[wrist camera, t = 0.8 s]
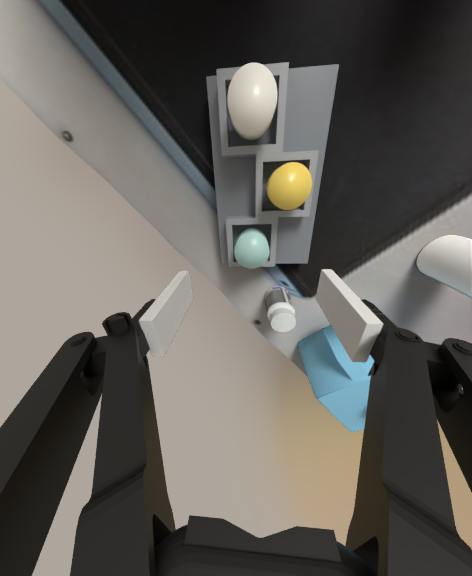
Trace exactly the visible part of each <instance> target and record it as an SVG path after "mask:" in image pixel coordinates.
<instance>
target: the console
mask: <svg viewBox="0 0 472 576" xmlns="http://www.w3.org/2000/svg"><path fill="white" fill-rule="evenodd" d="M264 66H266V67H267V68H268V69H269V70H270V72H271V73H272V75H273V76H274V79H275V82H276V85H277V104H276V108H275V111H274V114H273V118H272V121H271V124H270V126H269V128H268V130H267V131H266V133H265V134H264V135H263V136H261V137H260V138H258V139H256V140H246V139H244V138H242V137H241V136H240V135H239V134H238V133H237V132H236V130H235V128H234V126H233V123H232V119H231V116H230V113H229V109H228V102H227V96H228V89H229V85H230V82H231V80H232V78H233V76H234V75H235V73H236V72H237V71H238V70H239V69H240V68H241V67H234V68H223V69H216V70H217V75H216V76H206V80H207V92H208V104H209V116H210V129H211V141H212V153H213V165H214V177H215V190H216V202H217V214H218V226H219V239H220V251H221V263H222V264H229V267H243V266H241V265H240V264H239V263H238V262H237V260H236V258H235V255H234V249H235V245H236V241H237V238H238V236H239V234H240V233H241V232H242V231H244V230H245V229H248V228H256V229H259V230H260V231H262V232H263V233H264V234H265V236H266V239H267V242H268V246H269V250H270V253H269V257H268V259H267V261H266V262H265V263H264V264H263V265H262V266H260V267H275V264H290V263H308V257H309V251H310V244H311V238H312V232H313V225H314V219H315V213H316V206H317V200H318V194H319V188H320V181H321V175H322V169H323V162H324V156H325V150H326V143H327V137H328V131H329V124H330V118H331V112H332V106H333V99H334V93H335V87H336V80H337V74H338V68H339V64H333V65H323V66H312V67H301V68H291V69H288V67H289V62H285V63H275V64H265V65H264ZM290 162H297V163H300V164H302V165H304V166H305V167H306V168H307V169H308V170H309V172H310V174H311V178H312V188H311V192H310V194H309V196H308V198H307V199H306V201H305V202H304V203H303V204H302V205H301V206H299V207H297V208H295V209H292V210H283V209H280V208H278V207H277V206H276V205H274V204H273V203H272V202H271V201H270V200H269V198H268V196H267V192H266V185H267V181H268V179H269V177H270V175H271V174H272V173H273V172H274V171H275V170H276V169H278V168H279V167H281V166H282V165H284V164H286V163H290Z"/></svg>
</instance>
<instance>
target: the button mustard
mask: <svg viewBox="0 0 472 576" xmlns="http://www.w3.org/2000/svg"><path fill="white" fill-rule="evenodd" d="M311 188H312V178H311V174H310V172H309V170H308V169H307V168H306V167H305V166H304V165H302V164H300V163H297V162H290V163H286V164H284V165H282V166H281V167H279V168H278V169H276V170H275V171H274V172H273V173H272V174H271V175H270V177H269V179H268V181H267V185H266V192H267V196H268V198H269V200H270V201H271V202H272V203H273V204H274V205H276V206H277V207H278V208H280V209H283V210H292V209H295V208H297V207H299V206H301V205H302V204H303V203H304V202H305V201H306V199H307V198H308V196H309V194H310V192H311Z"/></svg>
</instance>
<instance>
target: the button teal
mask: <svg viewBox="0 0 472 576" xmlns="http://www.w3.org/2000/svg"><path fill="white" fill-rule="evenodd" d="M269 253H270V250H269V246H268V242H267V239H266V236H265V234H264V233H263V232H262V231H260V230H259V229H256V228H248V229H245V230H244V231H242V232H241V233H240V234H239V236H238V238H237V241H236V245H235V249H234V255H235V258H236V260H237V262H238V263H239V264H240V265H241V266H243V267H245V268H248V269H255V268H258V267H260V266H262V265H263V264H264V263H265V262H266V261H267V259H268V257H269Z"/></svg>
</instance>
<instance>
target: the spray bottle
mask: <svg viewBox="0 0 472 576" xmlns="http://www.w3.org/2000/svg"><path fill="white" fill-rule="evenodd" d="M417 267H418V269H419V271H421V272H422V273H423V274H425V275H427V276H429V277H431V278H433V279H435V280H437V281H439V282H441V283H443V284H445V285H447V286H449V287H451V288H453V289H455V290H457V291H459V292H461V293H463V294H465V295H467V296H468V297H470V298H472V239H469V238H465V237H460V236H456V235H447V236H443V237H440V238H437V239H435V240H433V241H431V242H430V243H429V244H427V245H426V246H425V247H424V248H423V249H422V250H421V252H420V253H419V255H418V258H417Z"/></svg>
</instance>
